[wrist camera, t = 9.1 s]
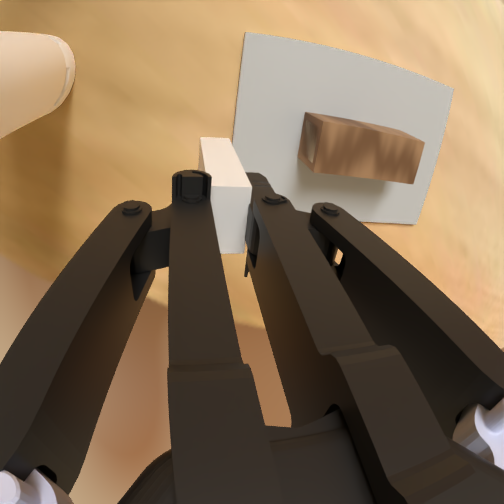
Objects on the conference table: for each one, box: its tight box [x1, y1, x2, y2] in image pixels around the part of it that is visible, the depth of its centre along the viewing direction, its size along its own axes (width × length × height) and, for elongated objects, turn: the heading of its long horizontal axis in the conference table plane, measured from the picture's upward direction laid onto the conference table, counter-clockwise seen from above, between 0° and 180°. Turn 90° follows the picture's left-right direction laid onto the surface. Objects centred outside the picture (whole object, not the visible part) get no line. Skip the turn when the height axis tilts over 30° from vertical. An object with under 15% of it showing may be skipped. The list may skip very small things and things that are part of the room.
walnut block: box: [297, 112, 425, 185], centre depth 28 cm, size 4×4×11 cm
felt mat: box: [232, 32, 454, 225], centre depth 30 cm, size 18×24×1 cm
